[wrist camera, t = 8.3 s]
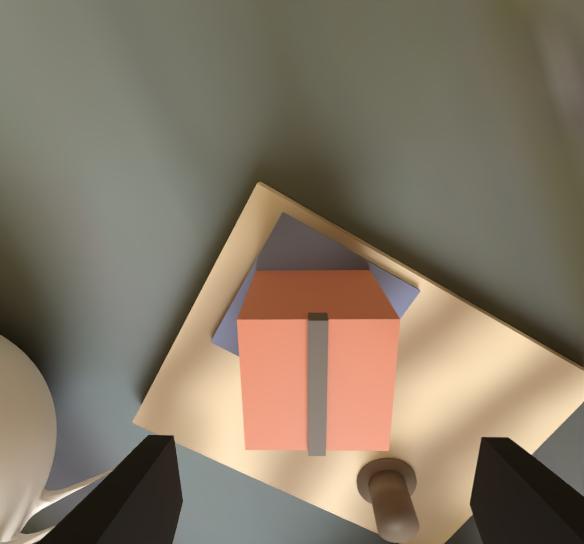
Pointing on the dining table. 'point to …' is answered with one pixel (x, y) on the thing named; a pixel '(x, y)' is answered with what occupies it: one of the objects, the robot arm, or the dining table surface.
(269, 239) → the board
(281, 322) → the strapped orange box
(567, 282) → the dining table surface
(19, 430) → the cat head
